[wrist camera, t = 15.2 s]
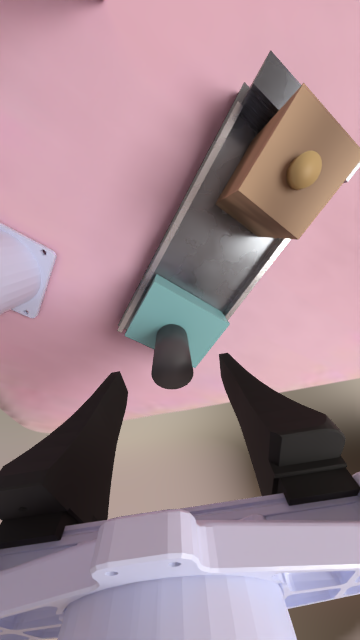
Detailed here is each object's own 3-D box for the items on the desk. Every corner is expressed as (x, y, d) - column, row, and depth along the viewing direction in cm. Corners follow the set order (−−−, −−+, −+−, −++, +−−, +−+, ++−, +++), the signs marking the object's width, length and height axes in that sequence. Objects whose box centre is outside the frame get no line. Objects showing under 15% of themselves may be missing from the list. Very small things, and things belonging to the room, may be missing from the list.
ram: (130, 321, 20) (108, 372, 13) (156, 273, 18) (147, 302, 11) (192, 351, 22) (202, 408, 15) (221, 311, 20) (250, 356, 13)
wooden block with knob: (215, 203, 16) (241, 188, 10) (252, 139, 14) (310, 75, 8) (258, 236, 17) (303, 239, 11) (297, 181, 16) (374, 150, 10)
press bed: (119, 321, 21) (109, 339, 18) (239, 91, 14) (264, 42, 10) (192, 356, 24) (196, 378, 20) (326, 178, 16) (370, 163, 13)
